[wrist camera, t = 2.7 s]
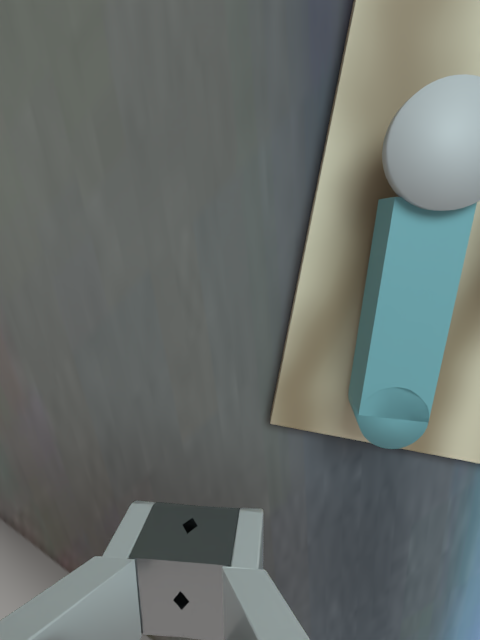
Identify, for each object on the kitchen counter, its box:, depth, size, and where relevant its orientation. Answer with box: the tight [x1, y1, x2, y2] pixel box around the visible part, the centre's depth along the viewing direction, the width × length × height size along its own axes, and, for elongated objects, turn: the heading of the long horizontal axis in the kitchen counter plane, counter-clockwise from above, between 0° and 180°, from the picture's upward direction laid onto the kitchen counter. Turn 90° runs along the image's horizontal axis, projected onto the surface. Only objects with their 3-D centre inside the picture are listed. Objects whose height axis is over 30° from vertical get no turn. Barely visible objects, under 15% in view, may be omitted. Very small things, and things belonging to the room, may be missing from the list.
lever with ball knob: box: [348, 74, 480, 449], centre depth 17 cm, size 15×4×3 cm, turn 176°
